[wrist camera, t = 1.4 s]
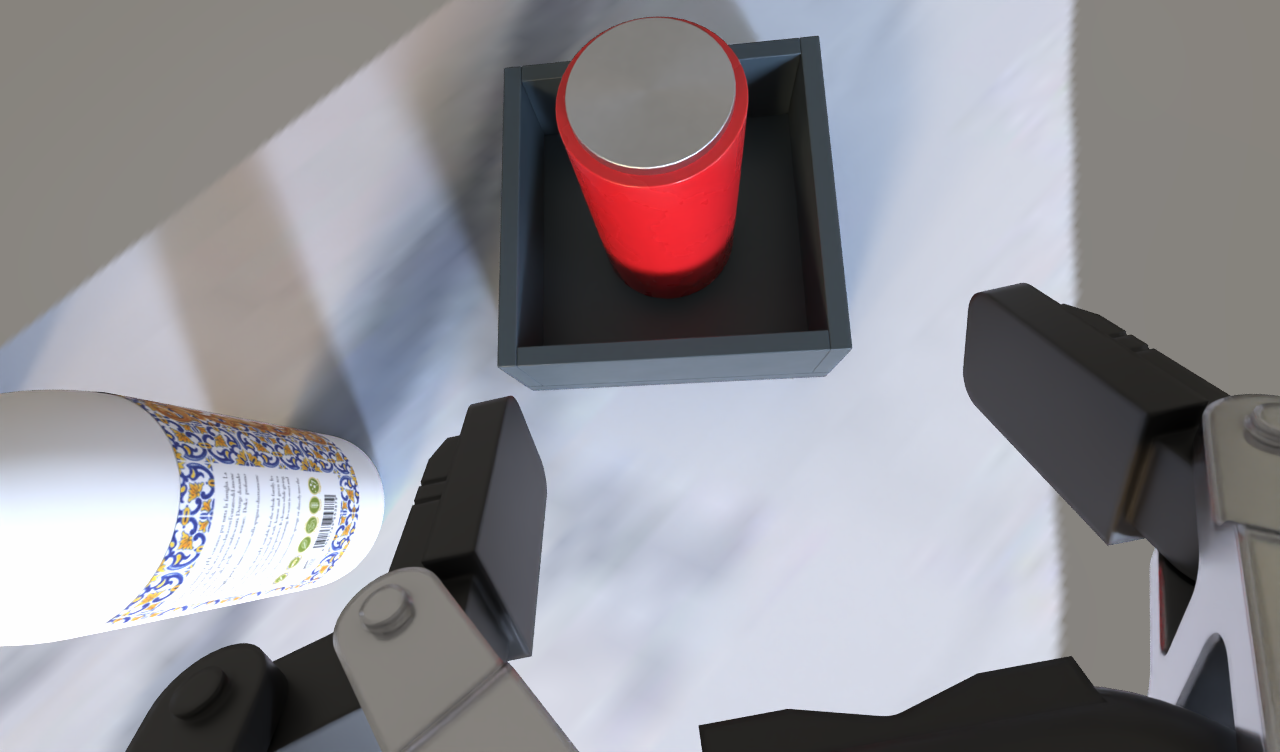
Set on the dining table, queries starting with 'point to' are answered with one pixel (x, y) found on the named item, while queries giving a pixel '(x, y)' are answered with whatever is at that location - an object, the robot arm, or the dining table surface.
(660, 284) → the can
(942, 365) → the dining table surface
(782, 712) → the robot arm
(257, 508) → the bath foam
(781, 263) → the tub
